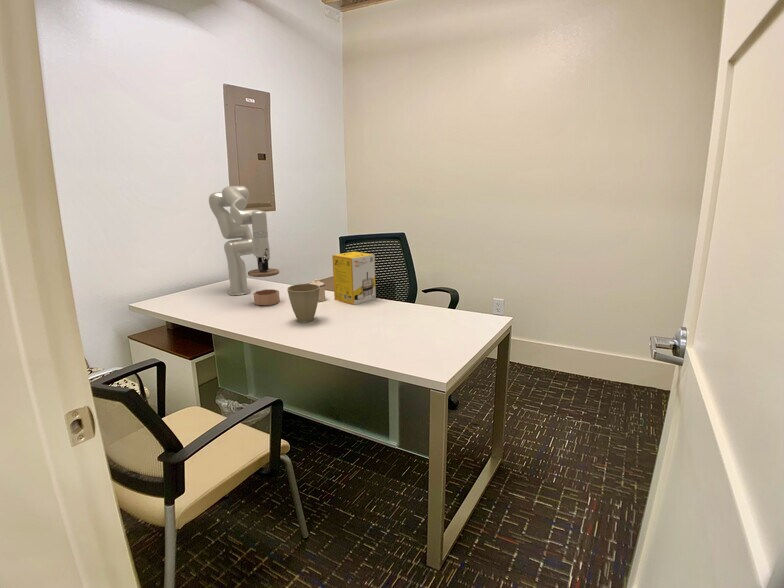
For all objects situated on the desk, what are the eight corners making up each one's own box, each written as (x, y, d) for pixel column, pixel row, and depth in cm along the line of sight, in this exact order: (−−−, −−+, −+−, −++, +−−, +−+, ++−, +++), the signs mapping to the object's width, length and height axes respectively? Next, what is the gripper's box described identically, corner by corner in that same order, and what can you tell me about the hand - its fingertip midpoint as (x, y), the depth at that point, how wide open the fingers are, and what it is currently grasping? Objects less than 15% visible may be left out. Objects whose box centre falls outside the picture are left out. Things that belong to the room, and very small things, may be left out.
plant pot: (286, 325, 202) (283, 291, 198) (293, 315, 216) (291, 283, 212) (318, 324, 201) (316, 291, 197) (323, 314, 216) (322, 283, 212)
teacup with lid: (329, 299, 244) (328, 278, 241) (316, 302, 237) (315, 281, 234) (314, 296, 251) (313, 276, 248) (302, 299, 244) (300, 279, 242)
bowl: (251, 303, 239) (249, 292, 237) (271, 298, 247) (270, 288, 246) (262, 307, 230) (261, 296, 229) (283, 302, 239) (282, 291, 237)
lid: (242, 273, 234) (241, 262, 233) (269, 269, 245) (268, 258, 244) (257, 278, 223) (256, 266, 222) (284, 273, 234) (284, 262, 232)
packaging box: (356, 294, 254) (354, 251, 248) (375, 299, 243) (374, 254, 237) (334, 299, 243) (332, 255, 236) (353, 305, 232) (351, 258, 225)
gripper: (246, 234, 232) (249, 268, 237) (261, 237, 221) (264, 272, 225) (259, 232, 237) (262, 266, 242) (275, 235, 226) (277, 270, 230)
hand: (263, 268), depth 234 cm, fingers closed on lid, 4 cm apart
